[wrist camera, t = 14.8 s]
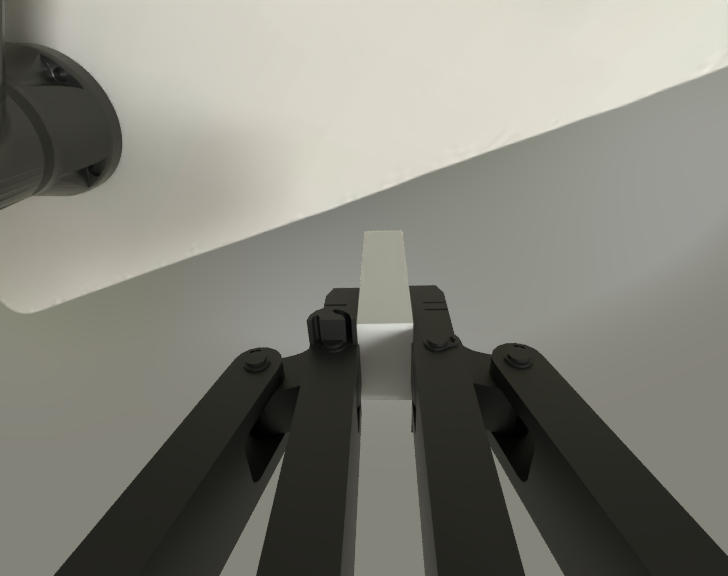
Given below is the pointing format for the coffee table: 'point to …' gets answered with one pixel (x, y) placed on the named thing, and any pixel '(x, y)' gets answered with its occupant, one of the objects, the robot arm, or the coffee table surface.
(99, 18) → the coffee table surface
